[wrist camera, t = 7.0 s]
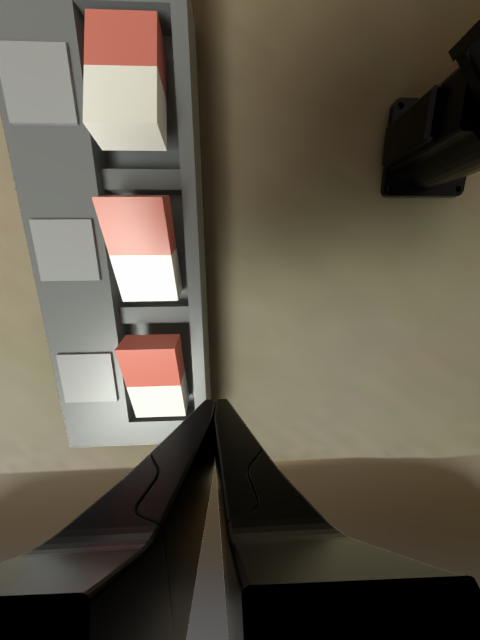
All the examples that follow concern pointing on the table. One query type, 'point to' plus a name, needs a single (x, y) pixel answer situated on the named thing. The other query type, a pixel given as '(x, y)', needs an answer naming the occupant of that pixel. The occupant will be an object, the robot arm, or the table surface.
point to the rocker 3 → (154, 374)
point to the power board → (81, 219)
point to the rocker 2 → (141, 245)
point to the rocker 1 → (125, 80)
